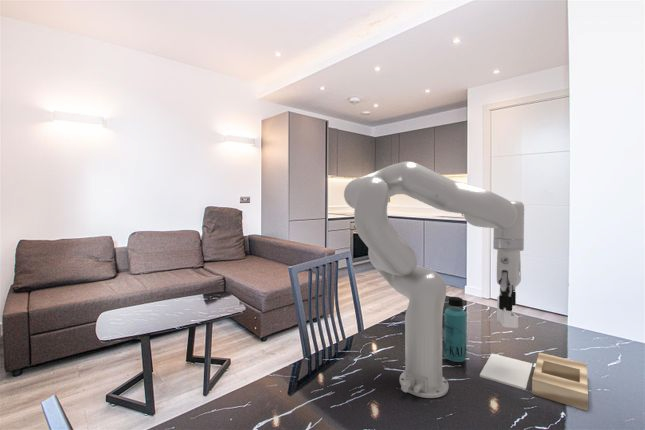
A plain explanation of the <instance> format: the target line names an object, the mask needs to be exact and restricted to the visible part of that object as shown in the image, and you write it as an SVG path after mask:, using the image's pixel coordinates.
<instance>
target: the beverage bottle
mask: <svg viewBox="0 0 645 430" xmlns="http://www.w3.org/2000/svg"><path fill="white" fill-rule="evenodd" d="M463 302H464V301H463V298H462V297H459V296H449V297H448V301H447V304H448V305H449V307H447V308H445V310H444V323H443V325H444V327H443V328H444V329H443V335H444V336H443V339H444V341H443V356H444V357H445V359H447V360H448V361H451V362H455V363H456V362H458V363H459V362H460V363H461V362H464V361H465V360H466V358H467V312H466V311H465V310H464V309H463V308H461V307H463V306H464V303H463Z"/></svg>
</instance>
